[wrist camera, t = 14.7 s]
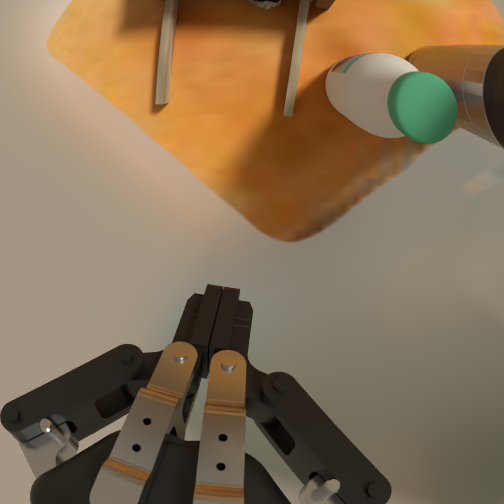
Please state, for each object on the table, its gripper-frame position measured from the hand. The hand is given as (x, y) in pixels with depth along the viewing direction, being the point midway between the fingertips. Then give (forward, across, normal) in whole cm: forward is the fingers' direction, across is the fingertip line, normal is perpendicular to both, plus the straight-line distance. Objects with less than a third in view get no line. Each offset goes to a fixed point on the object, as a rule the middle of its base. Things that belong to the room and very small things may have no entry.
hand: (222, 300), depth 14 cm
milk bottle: (+27, -10, -10) cm, 31 cm away
